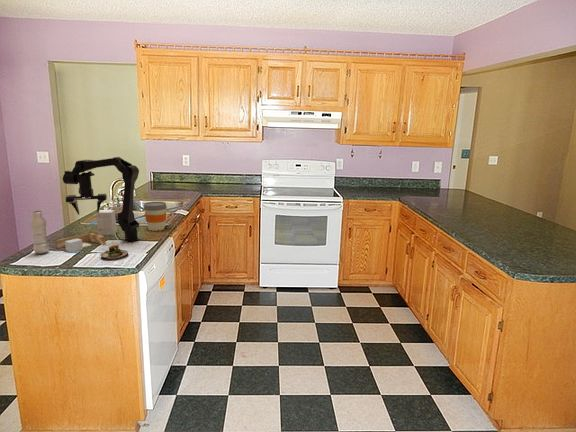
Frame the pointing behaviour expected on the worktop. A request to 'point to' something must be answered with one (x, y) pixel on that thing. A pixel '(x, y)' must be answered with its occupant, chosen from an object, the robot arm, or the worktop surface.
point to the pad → (85, 244)
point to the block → (73, 245)
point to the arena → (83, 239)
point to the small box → (106, 222)
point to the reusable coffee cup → (155, 215)
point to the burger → (113, 252)
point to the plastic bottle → (39, 233)
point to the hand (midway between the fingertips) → (88, 213)
